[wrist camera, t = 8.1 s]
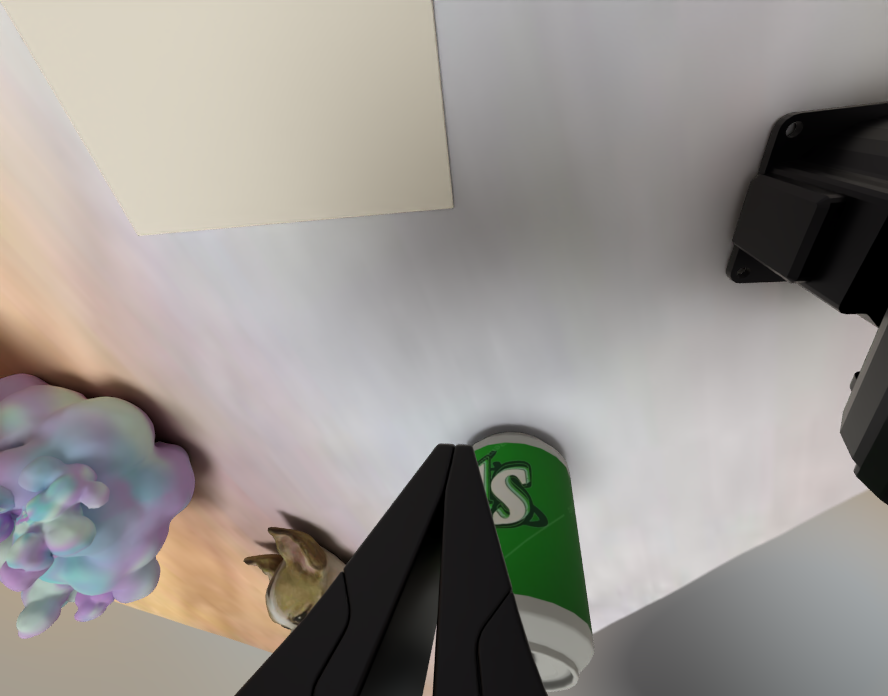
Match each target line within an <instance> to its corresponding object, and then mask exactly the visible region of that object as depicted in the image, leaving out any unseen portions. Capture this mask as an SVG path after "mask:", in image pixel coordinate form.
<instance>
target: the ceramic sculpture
mask: <svg viewBox="0 0 888 696" xmlns="http://www.w3.org/2000/svg"><path fill="white" fill-rule="evenodd" d="M268 532H269V533H270V534H271V535H272V536H273V538H274V539H275V542H276V546H277V551H278V553H279V554H280V555H279V554H267V555H258V556H251V557H247V558H245V559H244V562H245V563H246V564H248V565H254V566H258V567H259V568H260V569H261V570H262V571H263V573H264V574H266V575H268V577H269V580H270V583H269V585H268V588H267V591H266V605H267V610H268V613H269V616H270V618H271V619H272V621H273V622H275V623H278V624H281V626H282V627H284V628H287V629H290V630H291V632H292V631H293V630H294V629H295V628H296V627H297V626H298V624H299V623H300V622H301V621H302V620H303V619H304V618H305V616H306V615H307V614H308V613H309V612H310V610H311V609H312V608H313V607H314V605H315V604H316V603H317V602H318V600H319V599H320V598H321V597H322V595H323V594H324V593H325V592H326V590H327V589H328V588H329V586H330V585H331V584H332V582H333V581H334V580H335V578H336V577H337V576H338V574H339V573H340V572H342V571H343V572H344V570H343V569H344V567H345V566H346V565H345V564H344V563H343V562H342V561H341V560H339V559H338V558H337V557H336V556H335V555H334V554H332V553H331V552H329V551H328V550H326V549H325V548H323V547H320V546H319V544H318V543H317V542H316V541H315V540H314V539H313V538H312V537H311V536H310V535H308V534H306V533H304V532H301V531H297V530H293V529H285V528H278V527H270V528H268Z"/></svg>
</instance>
